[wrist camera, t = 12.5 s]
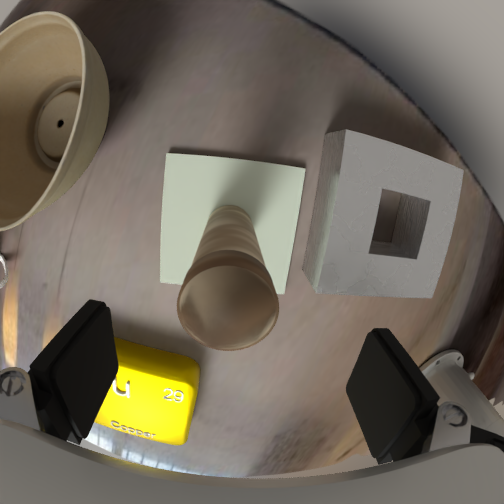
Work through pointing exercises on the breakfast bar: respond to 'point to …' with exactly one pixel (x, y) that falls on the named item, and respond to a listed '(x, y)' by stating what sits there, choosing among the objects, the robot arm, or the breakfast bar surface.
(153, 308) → the breakfast bar surface
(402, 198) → the block
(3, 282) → the cup
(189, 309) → the peg
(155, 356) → the element tile
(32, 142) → the planter bowl
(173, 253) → the pad
